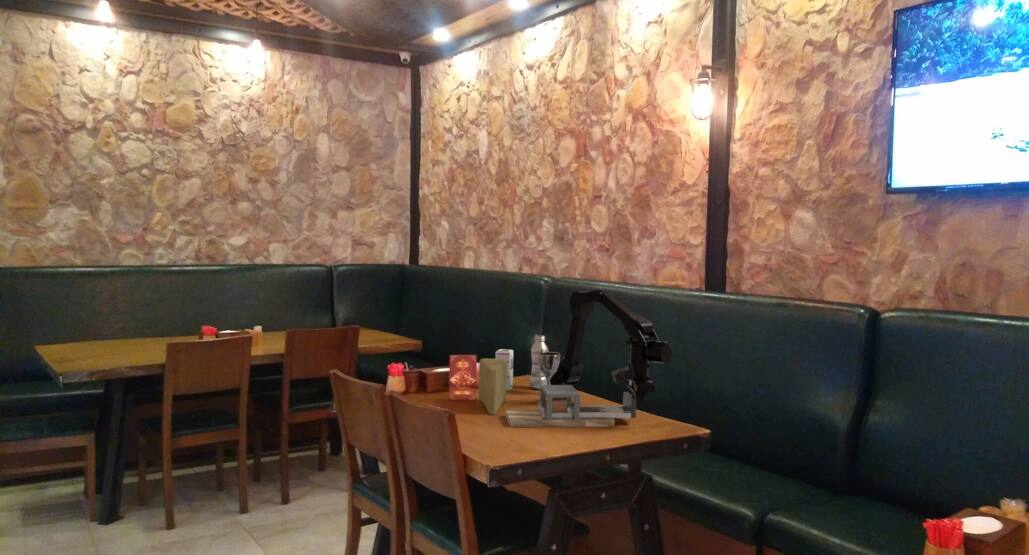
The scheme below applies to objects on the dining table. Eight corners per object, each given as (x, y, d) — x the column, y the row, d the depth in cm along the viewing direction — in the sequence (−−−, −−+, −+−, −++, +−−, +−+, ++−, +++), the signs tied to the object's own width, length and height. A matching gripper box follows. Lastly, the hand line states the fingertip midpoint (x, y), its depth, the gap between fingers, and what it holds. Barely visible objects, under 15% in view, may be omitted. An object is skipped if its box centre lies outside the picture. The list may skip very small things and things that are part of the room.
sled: (537, 410, 251) (537, 391, 251) (627, 410, 255) (627, 392, 254) (541, 418, 241) (542, 398, 241) (635, 417, 245) (636, 398, 244)
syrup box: (510, 390, 292) (511, 351, 291) (494, 389, 293) (495, 350, 292) (513, 387, 298) (514, 349, 297) (497, 386, 299) (498, 348, 298)
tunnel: (539, 409, 253) (540, 384, 253) (570, 409, 255) (571, 385, 254) (546, 420, 240) (547, 394, 239) (579, 420, 241) (580, 394, 240)
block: (547, 413, 249) (548, 397, 249) (563, 413, 250) (563, 397, 249) (550, 416, 244) (550, 400, 244) (566, 416, 245) (566, 400, 244)
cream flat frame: (505, 416, 252) (505, 409, 252) (604, 415, 256) (604, 409, 256) (510, 427, 238) (510, 420, 238) (614, 426, 242) (614, 420, 242)
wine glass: (559, 397, 283) (560, 355, 282) (537, 396, 283) (538, 354, 282) (558, 392, 291) (559, 351, 290) (536, 391, 291) (538, 351, 290)
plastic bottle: (537, 386, 302) (539, 334, 300) (550, 389, 297) (552, 336, 296) (525, 388, 297) (527, 335, 296) (539, 391, 292) (540, 337, 291)
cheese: (507, 415, 253) (508, 369, 252) (477, 415, 253) (478, 368, 252) (506, 400, 275) (507, 357, 275) (478, 400, 275) (479, 357, 274)
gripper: (607, 354, 257) (605, 402, 258) (622, 364, 239) (620, 416, 240) (640, 354, 259) (639, 402, 260) (657, 364, 240) (656, 415, 241)
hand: (637, 408), depth 250 cm, fingers closed, pressing on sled
